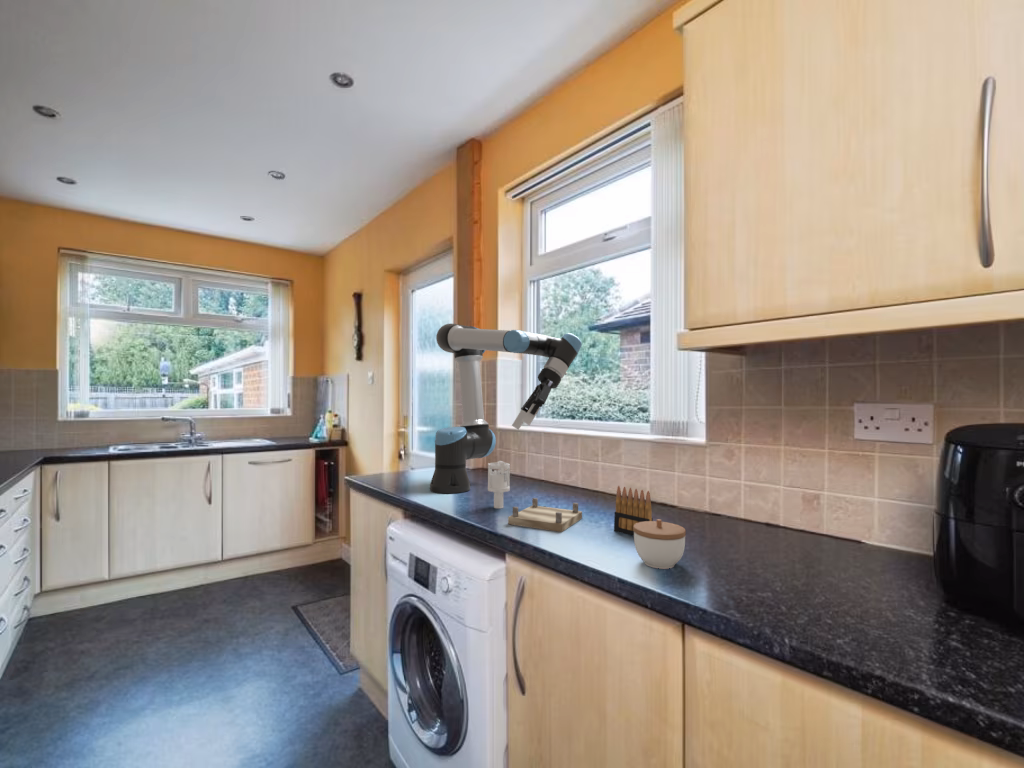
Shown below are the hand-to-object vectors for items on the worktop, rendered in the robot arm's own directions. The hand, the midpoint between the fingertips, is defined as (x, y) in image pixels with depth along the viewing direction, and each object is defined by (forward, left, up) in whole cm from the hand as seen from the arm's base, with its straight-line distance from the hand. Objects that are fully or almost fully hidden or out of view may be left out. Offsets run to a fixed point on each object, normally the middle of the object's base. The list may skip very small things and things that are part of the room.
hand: (520, 425), depth 154 cm
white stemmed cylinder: (+5, -5, -26) cm, 27 cm away
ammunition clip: (+14, +40, -26) cm, 50 cm away
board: (+13, +15, -26) cm, 33 cm away
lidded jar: (+33, +50, -26) cm, 66 cm away
